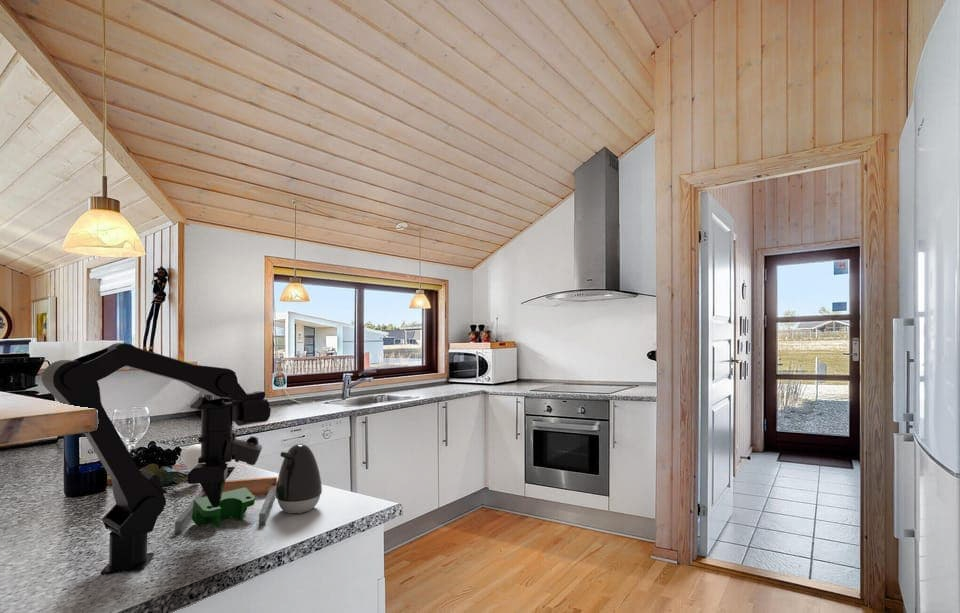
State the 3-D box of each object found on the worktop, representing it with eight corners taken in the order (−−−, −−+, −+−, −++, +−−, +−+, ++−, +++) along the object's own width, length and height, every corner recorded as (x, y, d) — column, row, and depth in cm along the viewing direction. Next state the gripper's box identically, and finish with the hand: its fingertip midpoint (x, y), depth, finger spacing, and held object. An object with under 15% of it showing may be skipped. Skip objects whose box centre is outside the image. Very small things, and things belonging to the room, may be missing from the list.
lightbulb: (183, 483, 146) (184, 443, 146) (208, 480, 148) (209, 441, 149) (181, 489, 140) (182, 447, 141) (207, 486, 143) (208, 445, 143)
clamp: (209, 549, 113) (196, 517, 109) (199, 535, 117) (185, 504, 113) (262, 514, 120) (251, 483, 117) (250, 502, 124) (239, 472, 121)
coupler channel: (264, 525, 114) (265, 506, 114) (174, 534, 110) (175, 514, 110) (277, 492, 137) (277, 476, 138) (203, 498, 133) (203, 482, 133)
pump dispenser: (265, 513, 121) (265, 446, 122) (299, 500, 131) (300, 438, 131) (297, 520, 117) (297, 451, 117) (331, 506, 126) (331, 442, 126)
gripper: (252, 435, 101) (251, 518, 101) (265, 419, 120) (264, 490, 119) (187, 439, 99) (186, 524, 98) (211, 422, 117) (209, 494, 116)
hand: (215, 506), depth 108 cm, fingers closed
